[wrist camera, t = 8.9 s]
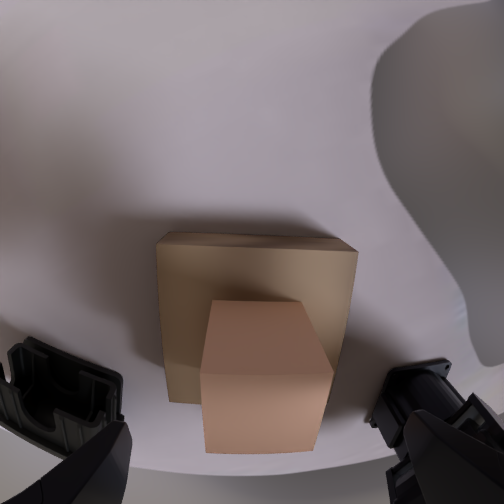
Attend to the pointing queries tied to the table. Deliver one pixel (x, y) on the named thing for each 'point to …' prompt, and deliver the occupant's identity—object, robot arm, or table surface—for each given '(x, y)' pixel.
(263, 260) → the tan block
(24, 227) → the table surface
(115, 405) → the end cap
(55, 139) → the table surface
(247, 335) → the terracotta block
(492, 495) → the robot arm
